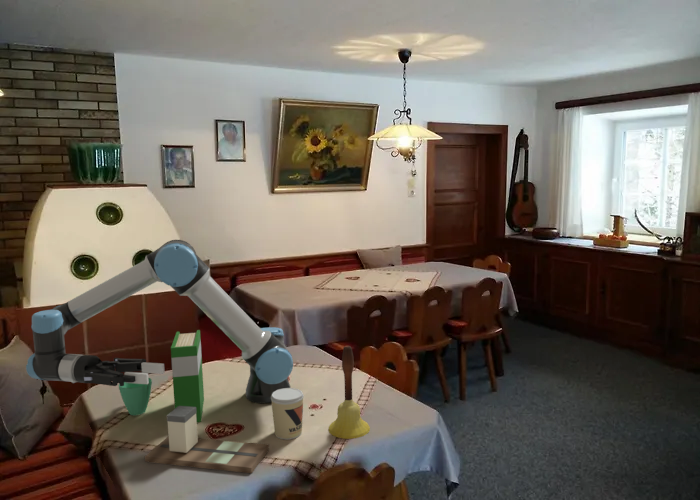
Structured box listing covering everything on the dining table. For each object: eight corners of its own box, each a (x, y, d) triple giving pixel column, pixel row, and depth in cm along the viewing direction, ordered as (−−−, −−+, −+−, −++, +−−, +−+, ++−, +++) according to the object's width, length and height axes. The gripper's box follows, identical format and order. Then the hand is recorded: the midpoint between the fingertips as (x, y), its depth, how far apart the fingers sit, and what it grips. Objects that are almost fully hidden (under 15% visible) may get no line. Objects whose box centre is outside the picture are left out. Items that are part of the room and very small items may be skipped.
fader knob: (169, 451, 144) (166, 415, 143) (181, 440, 150) (178, 405, 149) (186, 452, 143) (184, 417, 142) (198, 441, 149) (196, 407, 148)
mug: (150, 417, 169) (148, 386, 168) (117, 420, 168) (114, 389, 167) (159, 398, 184) (157, 370, 182) (129, 401, 182) (127, 372, 181)
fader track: (145, 461, 143) (144, 456, 143) (169, 440, 155) (169, 434, 154) (251, 473, 136) (251, 467, 136) (269, 449, 148) (268, 444, 148)
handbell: (337, 442, 151) (335, 356, 148) (322, 424, 163) (319, 343, 159) (377, 433, 156) (376, 349, 153) (359, 416, 167) (358, 337, 164)
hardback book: (181, 401, 181) (176, 331, 178) (204, 399, 183) (200, 329, 179) (175, 424, 164) (170, 348, 161) (201, 421, 166) (196, 346, 162)
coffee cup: (291, 444, 151) (289, 402, 149) (265, 436, 156) (263, 396, 154) (311, 430, 159) (309, 391, 157) (285, 423, 164) (284, 385, 162)
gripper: (105, 369, 161) (176, 373, 156) (56, 395, 142) (134, 402, 136) (103, 344, 160) (174, 348, 155) (53, 367, 141) (132, 373, 135)
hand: (155, 373), depth 146 cm, fingers open, 7 cm apart
